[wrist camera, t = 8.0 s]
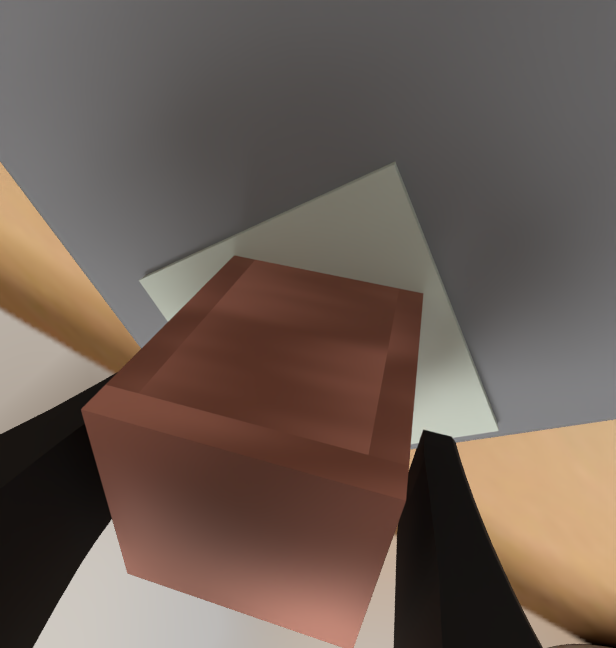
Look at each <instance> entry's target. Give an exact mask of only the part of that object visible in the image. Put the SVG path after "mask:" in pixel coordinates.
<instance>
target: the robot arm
mask: <svg viewBox="0 0 616 648" xmlns="http://www.w3.org/2000/svg"><path fill="white" fill-rule="evenodd" d="M117 373H118V372H117ZM117 373H115V374H114V375H112V376H110V377H108V378H106V379H105V380H103V381H101V382H99V383H98V384H96V385H94V386H92V387H91V388H89V389H87V390H85V391H83V392H81V393H80V394H78V395H76V396H74V397H72V398H70V399H69V400H67V401H65V402H63V403H61V404H59V405H58V406H56V407H54V408H52V409H50V410H48V411H46V412H44V413H42V414H40V415H38V416H36V417H34V418H32V419H30V420H28V421H26V422H24V423H22V424H20V425H18V426H16V427H14V428H12V429H10V430H8V431H6V432H4V433H2V434H0V648H33V646H34V644H35V643H36V641H37V639H38V637H39V635H40V634H41V632H42V630H43V628H44V627H45V625H46V623H47V621H48V619H49V618H50V616H51V614H52V612H53V610H54V608H55V607H56V605H57V603H58V601H59V600H60V598H61V596H62V595H63V593H64V591H65V590H66V588H67V586H68V585H69V583H70V581H71V580H72V578H73V576H74V574H75V573H76V571H77V569H78V568H79V566H80V564H81V563H82V561H83V560H84V558H85V556H86V555H87V554H88V552H89V551H90V549H91V548H92V546H93V544H94V543H95V542H96V540H97V539H98V537H99V536H100V535H101V533H102V532H103V530H104V529H105V528H106V526H107V525H108V523H109V522H110V520H111V519H112V517H111V513H110V510H109V506H108V503H107V499H106V496H105V492H104V489H103V485H102V482H101V478H100V475H99V471H98V468H97V464H96V461H95V457H94V454H93V450H92V447H91V443H90V440H89V436H88V433H87V429H86V426H85V422H84V419H83V415H82V412H81V409H82V408H83V407H84V406H85V405H86V404H87V403H88V402H89V401H90V400H91V399H92V398H93V397H94V396H95V395H96V394H97V393H98V392H99V391H100V390H101V389H102V388H103V387H104V386H105V385H106V384H107V383H108V382H109V381H110V380H111V379H112V378H113V377H114V376H115V375H116V374H117ZM394 648H542V646H541V644H540V642H539V640H538V638H537V637H536V634H535V633H534V631H533V629H532V627H531V625H530V623H529V621H528V619H527V617H526V615H525V613H524V611H523V609H522V607H521V605H520V603H519V601H518V599H517V597H516V595H515V593H514V591H513V589H512V587H511V585H510V582H509V580H508V578H507V576H506V574H505V572H504V570H503V567H502V565H501V563H500V561H499V559H498V556H497V554H496V552H495V550H494V547H493V545H492V543H491V540H490V538H489V535H488V533H487V530H486V528H485V526H484V523H483V521H482V518H481V516H480V513H479V511H478V508H477V506H476V503H475V500H474V498H473V495H472V492H471V489H470V486H469V484H468V481H467V478H466V475H465V472H464V469H463V466H462V463H461V460H460V456H459V453H458V449H457V446H456V442H455V440H454V439H453V438H452V437H451V436H447V435H443V434H439V433H436V432H432V431H428V430H424V429H423V432H422V434H421V437H420V440H419V443H418V446H417V449H416V452H415V455H414V458H413V461H412V464H411V467H410V469H409V472H408V483H407V495H406V502H405V505H404V508H403V511H402V513H401V516H400V519H399V523H398V531H397V555H396V587H395V622H394Z"/></svg>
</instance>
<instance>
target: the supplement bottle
mask: <svg viewBox="0 0 616 648" xmlns="http://www.w3.org/2000/svg"><path fill="white" fill-rule="evenodd" d="M549 648H611V647H605V646H598V645H589V644H568V645H567V644H566V645H559V646H553V647H549Z"/></svg>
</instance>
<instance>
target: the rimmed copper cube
mask: <svg viewBox="0 0 616 648" xmlns="http://www.w3.org/2000/svg"><path fill="white" fill-rule="evenodd" d="M422 305H423V293H419V292H414V291H409V290H404V289H399V288H394V287H389V286H384V285H379V284H374V283H369V282H364V281H359V280H354V279H349V278H344V277H339V276H334V275H330V274H325V273H320V272H315V271H310V270H305V269H300V268H295V267H290V266H285V265H280V264H275V263H270V262H265V261H260V260H255V259H250V258H245V257H240V256H235V255H234V256H233V257H232V258H231V259H230V260H229V261H228V262H227V263H226V264H225V265H224V266H223V267H222V268H221V269H220V270H219V271H218V272H217V273H216V274H215V275H214V276H213V277H212V278H211V279H210V280H209V281H208V282H207V283H206V284H205V285H204V286H203V287H202V288H201V289H200V290H199V291H198V292H197V293H196V294H195V295H194V296H193V297H192V298H191V299H190V300H189V301H188V302H187V303H186V304H185V305H184V306H183V307H182V308H181V309H180V310H179V311H178V312H177V313H176V314H175V315H174V316H173V317H172V318H171V319H170V320H169V321H168V322H167V323H166V324H165V325H164V326H163V327H162V328H161V329H160V330H159V331H158V332H157V333H156V334H155V335H154V336H153V337H152V338H151V339H150V341H149V342H148V343H147V344H146V345H145V346H144V347H143V348H142V349H141V350H140V351H139V352H138V353H137V354H136V355H135V356H134V357H133V358H132V359H131V360H130V361H129V362H128V363H127V364H126V365H125V366H124V367H123V368H122V369H121V370H120V371H119V372H118V373H117V374H116V375H115V376H114V377H113V378H112V379H111V380H110V381H109V382H108V383H107V384H106V385H105V386H104V387H103V388H102V389H101V390H100V391H99V392H98V393H97V394H96V395H95V396H94V397H93V398H92V399H91V400H90V401H89V402H88V403H87V404H86V405H85V406H84V407H83V408H82V409H81V412H82V415H83V419H84V422H85V426H86V429H87V433H88V436H89V440H90V443H91V447H92V450H93V454H94V457H95V461H96V464H97V468H98V471H99V475H100V478H101V482H102V485H103V489H104V492H105V496H106V499H107V503H108V506H109V510H110V513H111V517H112V520H113V524H114V527H115V531H116V534H117V538H118V541H119V545H120V548H121V552H122V556H123V559H124V562H125V566H126V569H127V573H128V574H131V575H134V576H137V577H139V578H142V579H145V580H148V581H151V582H154V583H157V584H160V585H163V586H166V587H168V588H171V589H174V590H177V591H180V592H183V593H186V594H189V595H192V596H195V597H197V598H200V599H204V600H206V601H209V602H212V603H215V604H218V605H221V606H224V607H226V608H229V609H232V610H235V611H238V612H241V613H244V614H247V615H250V616H253V617H255V618H258V619H261V620H264V621H267V622H270V623H273V624H276V625H279V626H282V627H285V628H288V629H290V630H293V631H296V632H299V633H302V634H305V635H308V636H311V637H314V638H317V639H319V640H322V641H325V642H328V643H331V644H334V645H337V646H340V647H343V648H353V647H354V644H355V642H356V639H357V636H358V633H359V631H360V628H361V625H362V622H363V619H364V617H365V614H366V611H367V608H368V605H369V603H370V600H371V597H372V594H373V592H374V588H375V586H376V583H377V580H378V578H379V575H380V572H381V569H382V566H383V564H384V561H385V558H386V555H387V553H388V549H389V547H390V544H391V541H392V539H393V536H394V533H395V530H396V527H397V525H398V522H399V519H400V516H401V513H402V511H403V508H404V505H405V502H406V495H407V483H408V471H409V459H410V447H411V436H412V424H413V412H414V400H415V388H416V376H417V364H418V353H419V341H420V329H421V317H422Z"/></svg>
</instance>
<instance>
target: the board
mask: <svg viewBox="0 0 616 648" xmlns="http://www.w3.org/2000/svg"><path fill="white" fill-rule="evenodd" d="M0 162H1V163H2V164H3V166H4V167H5V168H6V170H7V171H8V172H9V174H10V175H11V176H12V178H13V179H14V180H15V182H16V183H17V184H18V186H19V187H20V188H21V190H22V191H23V192H24V194H25V195H26V196H27V198H28V199H29V200H30V202H31V203H32V204H33V206H34V207H35V208H36V210H37V211H38V212H39V214H40V215H41V216H42V217H43V219H44V220H45V221H46V223H47V224H48V225H49V227H50V228H51V229H52V231H53V232H54V233H55V235H56V236H57V237H58V239H59V240H60V241H61V243H62V244H63V245H64V247H65V248H66V249H67V251H68V252H69V253H70V255H71V256H72V257H73V259H74V260H75V261H76V263H77V264H78V265H79V267H80V268H81V269H82V271H83V272H84V273H85V274H86V276H87V277H88V278H89V280H90V281H91V282H92V284H93V285H94V286H95V288H96V289H97V290H98V292H99V293H100V294H101V296H102V297H103V298H104V300H105V301H106V302H107V304H108V305H109V306H110V308H111V309H112V310H113V312H114V313H115V314H116V316H117V317H118V318H119V320H120V321H121V322H122V324H123V325H124V326H125V328H126V329H127V330H128V332H129V333H130V334H131V335H132V337H133V338H134V339H135V341H136V342H137V343H138V345H139V346H140V347H141V349H142V348H143V347H144V346H145V345H146V344H147V343H148V342H149V341H150V339H151V338H152V337H153V336H154V335H155V334H156V333H157V332H158V331H159V330H160V329H161V328H162V327H163V326H164V325H165V324H166V323H167V322H168V321H169V320H170V319H171V318H172V317H173V316H174V315H175V314H176V313H177V312H178V311H179V310H180V309H181V308H182V307H183V306H184V305H185V304H186V303H187V302H188V301H189V300H190V299H191V298H192V297H193V296H194V295H195V294H196V293H197V292H198V291H199V290H200V289H201V288H202V287H203V286H204V285H205V284H206V283H207V282H208V281H209V280H210V279H211V278H212V277H213V276H214V275H215V274H216V273H217V272H218V271H219V270H220V269H221V268H222V267H223V266H224V265H225V264H226V263H227V262H228V261H229V260H230V259H231V258H232V257H233V256H234V255H235V256H240V257H245V258H250V259H255V260H260V261H265V262H270V263H275V264H280V265H285V266H290V267H295V268H300V269H305V270H310V271H315V272H320V273H325V274H330V275H334V276H339V277H344V278H349V279H354V280H359V281H364V282H369V283H374V284H379V285H384V286H389V287H394V288H399V289H404V290H409V291H414V292H419V293H423V305H422V317H421V329H420V341H419V353H418V364H417V376H416V388H415V400H414V412H413V424H412V436H411V447H410V449H415V448H417V446H418V443H419V440H420V437H421V434H422V432H423V429H424V430H428V431H432V432H436V433H439V434H443V435H447V436H451V437H452V438H453V439H454V440H455V442H463V441H470V440H477V439H484V438H491V437H497V436H504V435H511V434H518V433H525V432H532V431H539V430H545V429H552V428H559V427H566V426H573V425H580V424H586V423H593V422H600V421H607V420H614V419H616V0H0Z"/></svg>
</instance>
